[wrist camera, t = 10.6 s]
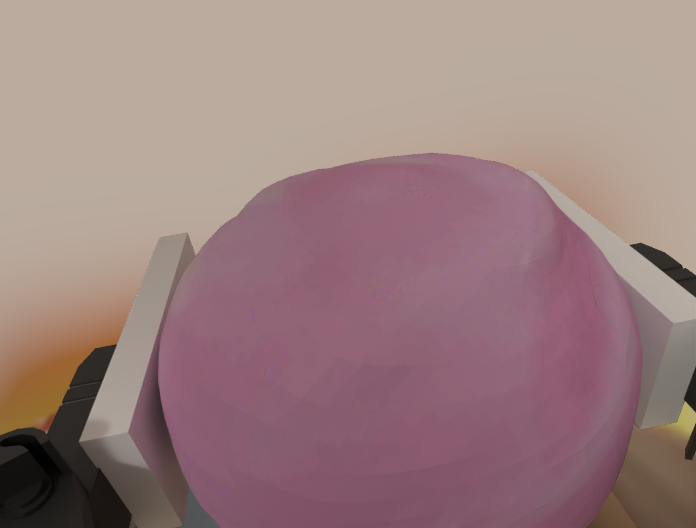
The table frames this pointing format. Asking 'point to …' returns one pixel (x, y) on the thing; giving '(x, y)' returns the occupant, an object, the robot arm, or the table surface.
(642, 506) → the table surface
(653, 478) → the table surface
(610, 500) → the walnut block
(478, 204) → the cupcake
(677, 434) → the table surface
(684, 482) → the table surface
